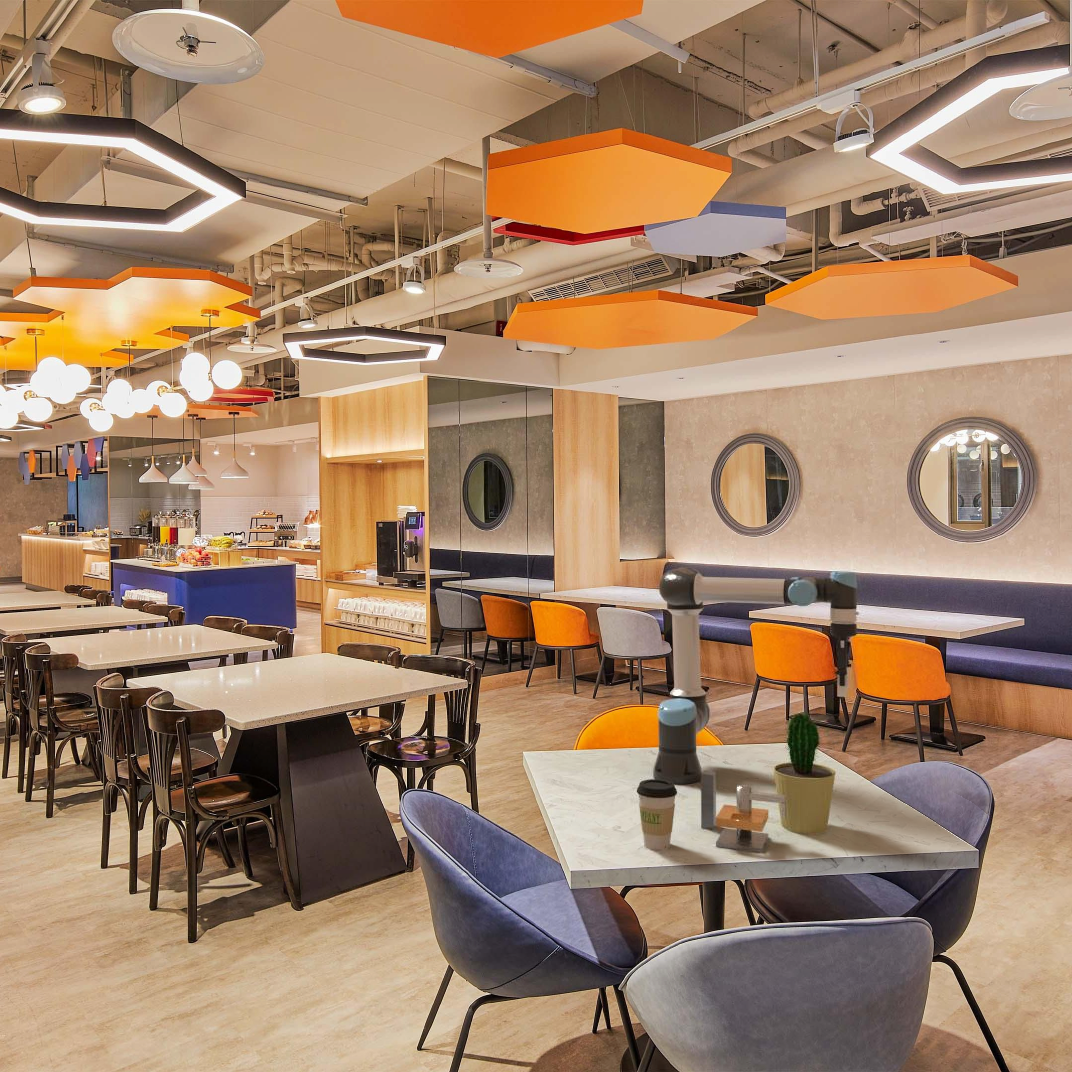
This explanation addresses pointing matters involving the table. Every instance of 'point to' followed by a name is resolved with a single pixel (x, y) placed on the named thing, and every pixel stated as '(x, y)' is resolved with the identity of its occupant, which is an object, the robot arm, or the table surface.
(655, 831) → the coffee cup
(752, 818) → the tiered post stand
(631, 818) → the table surface
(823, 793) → the potted cactus
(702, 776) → the gray rectangular bar
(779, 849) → the table surface
